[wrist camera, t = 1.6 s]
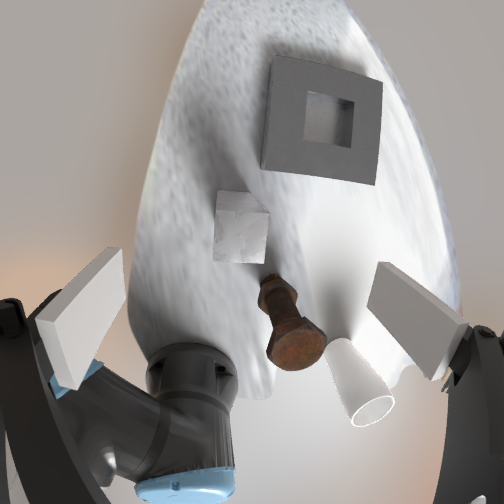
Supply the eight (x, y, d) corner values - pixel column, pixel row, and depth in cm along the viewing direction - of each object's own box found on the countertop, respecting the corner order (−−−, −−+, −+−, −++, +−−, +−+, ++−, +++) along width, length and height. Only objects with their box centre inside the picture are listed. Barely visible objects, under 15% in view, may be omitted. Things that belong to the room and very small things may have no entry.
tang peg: (247, 223, 35) (263, 263, 22) (215, 221, 35) (212, 261, 22) (250, 192, 34) (269, 213, 21) (217, 190, 34) (215, 210, 20)
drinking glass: (351, 359, 45) (387, 419, 31) (316, 366, 44) (346, 432, 30) (358, 329, 43) (401, 389, 29) (320, 335, 42) (356, 402, 28)
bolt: (298, 282, 39) (337, 347, 25) (272, 307, 40) (298, 379, 25) (269, 256, 37) (298, 316, 23) (243, 283, 38) (256, 353, 24)
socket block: (361, 182, 35) (374, 185, 32) (260, 169, 33) (264, 170, 30) (369, 87, 31) (382, 82, 27) (270, 64, 29) (275, 55, 26)
